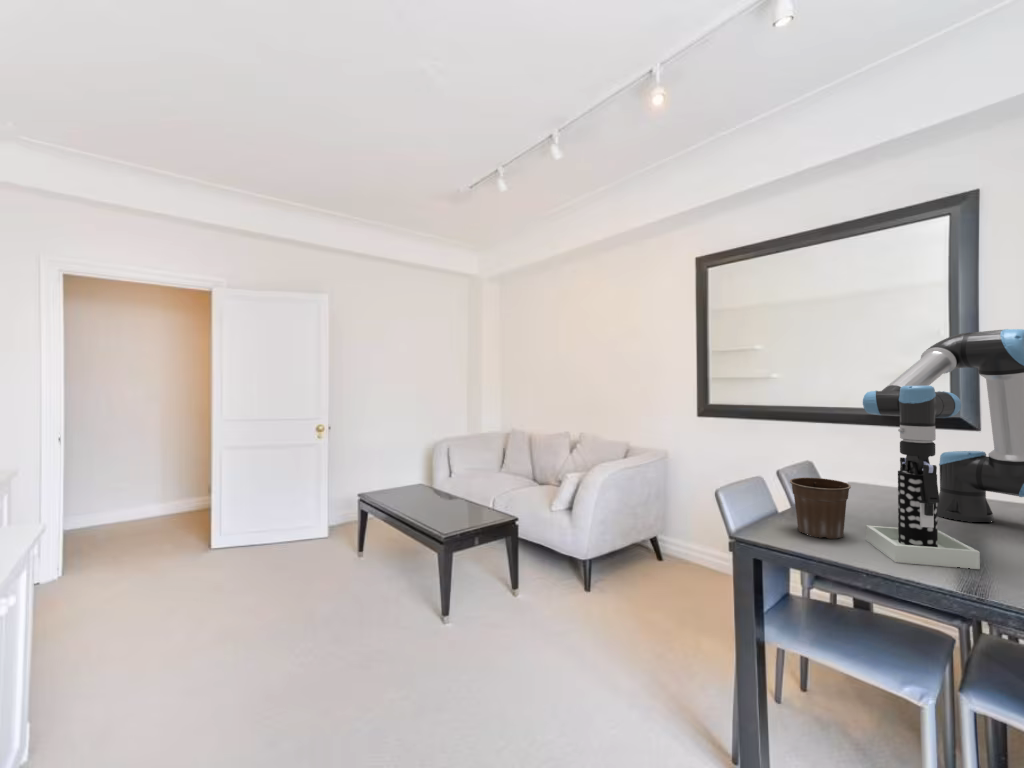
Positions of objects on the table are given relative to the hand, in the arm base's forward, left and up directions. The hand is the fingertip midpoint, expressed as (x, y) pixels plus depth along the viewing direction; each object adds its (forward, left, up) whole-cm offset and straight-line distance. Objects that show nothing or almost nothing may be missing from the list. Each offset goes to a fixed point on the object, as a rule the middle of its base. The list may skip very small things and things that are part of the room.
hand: (917, 522), depth 131 cm
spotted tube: (0, 0, -7) cm, 7 cm away
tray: (0, 0, -9) cm, 9 cm away
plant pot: (+20, -13, -9) cm, 26 cm away
